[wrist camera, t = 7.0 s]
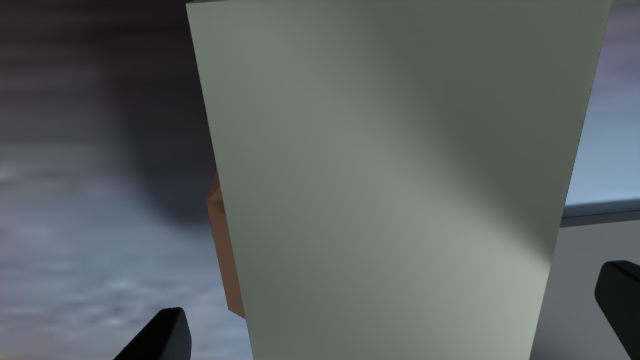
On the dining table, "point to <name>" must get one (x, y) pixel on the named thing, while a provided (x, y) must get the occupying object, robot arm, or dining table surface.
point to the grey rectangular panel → (583, 288)
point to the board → (395, 167)
